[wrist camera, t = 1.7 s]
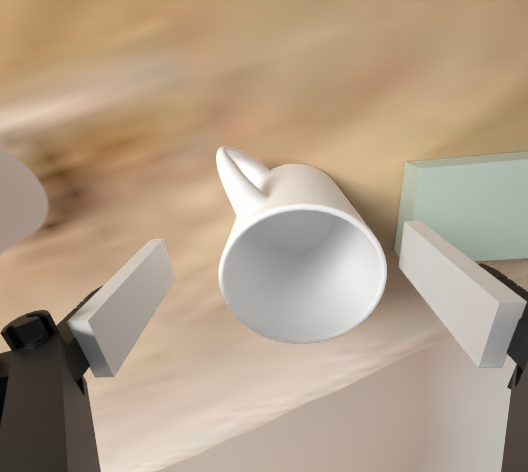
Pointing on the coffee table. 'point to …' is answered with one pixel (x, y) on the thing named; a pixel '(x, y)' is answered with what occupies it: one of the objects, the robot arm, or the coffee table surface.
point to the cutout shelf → (470, 203)
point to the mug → (296, 253)
